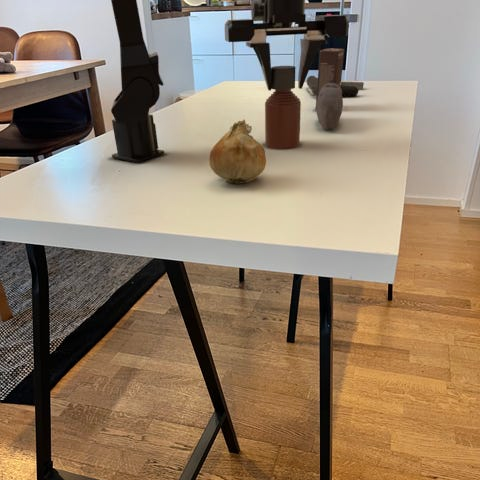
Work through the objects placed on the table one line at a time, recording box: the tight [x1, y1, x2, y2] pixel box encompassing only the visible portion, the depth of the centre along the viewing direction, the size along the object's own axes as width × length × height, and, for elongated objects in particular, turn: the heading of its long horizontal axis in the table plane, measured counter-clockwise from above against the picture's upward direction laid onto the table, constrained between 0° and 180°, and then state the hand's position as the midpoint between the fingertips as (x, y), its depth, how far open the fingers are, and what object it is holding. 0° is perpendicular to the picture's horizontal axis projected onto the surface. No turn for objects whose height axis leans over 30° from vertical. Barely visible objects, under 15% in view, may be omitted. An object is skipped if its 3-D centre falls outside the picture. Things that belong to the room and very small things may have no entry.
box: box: [315, 48, 345, 111], centre depth 107 cm, size 6×4×12 cm
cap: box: [271, 65, 296, 91], centre depth 79 cm, size 4×4×3 cm
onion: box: [208, 118, 267, 185], centre depth 66 cm, size 8×8×8 cm
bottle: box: [264, 89, 302, 150], centre depth 81 cm, size 6×6×12 cm
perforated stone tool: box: [315, 83, 344, 130], centre depth 94 cm, size 15×5×7 cm, turn 168°
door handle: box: [304, 75, 365, 98], centre depth 130 cm, size 3×20×16 cm
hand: (284, 89), depth 80 cm, fingers open, 5 cm apart
